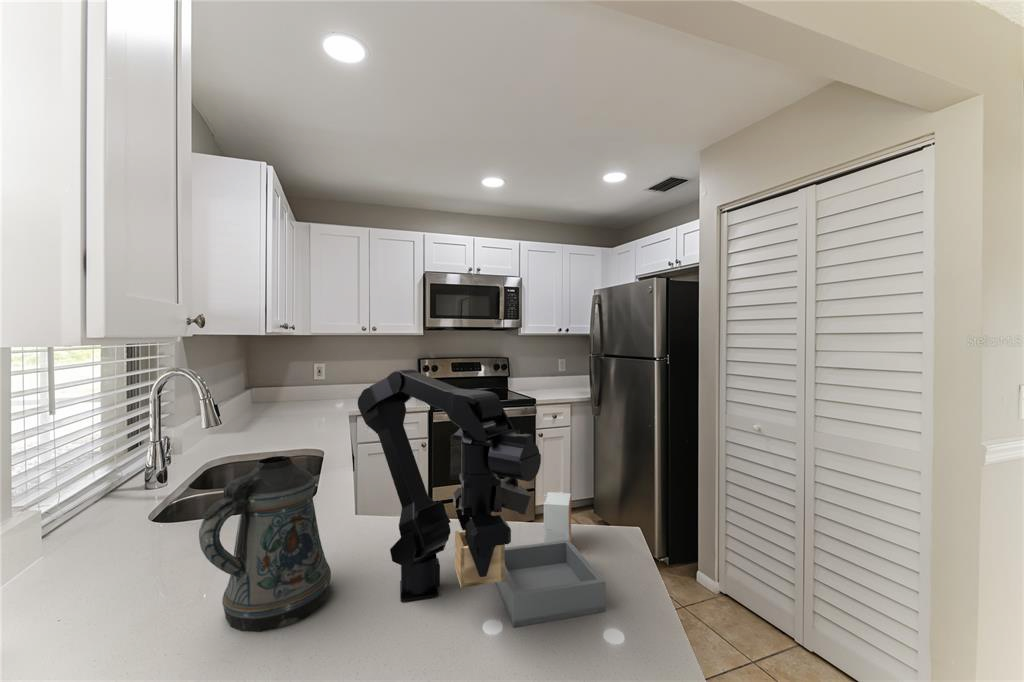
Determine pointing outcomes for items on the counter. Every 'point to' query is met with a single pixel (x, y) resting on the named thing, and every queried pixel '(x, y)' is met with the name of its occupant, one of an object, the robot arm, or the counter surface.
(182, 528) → the counter surface
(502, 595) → the slate gray crate
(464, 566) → the oak crate
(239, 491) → the beer stein
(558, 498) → the small box
